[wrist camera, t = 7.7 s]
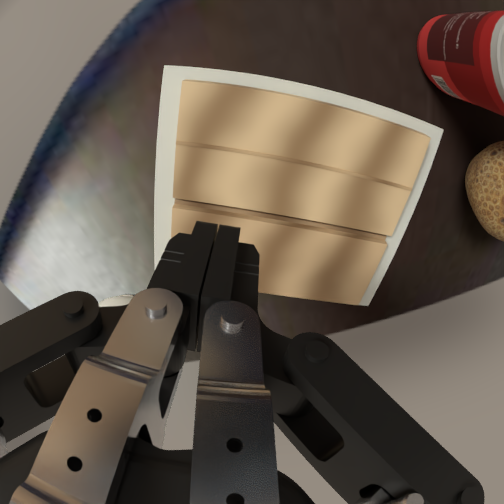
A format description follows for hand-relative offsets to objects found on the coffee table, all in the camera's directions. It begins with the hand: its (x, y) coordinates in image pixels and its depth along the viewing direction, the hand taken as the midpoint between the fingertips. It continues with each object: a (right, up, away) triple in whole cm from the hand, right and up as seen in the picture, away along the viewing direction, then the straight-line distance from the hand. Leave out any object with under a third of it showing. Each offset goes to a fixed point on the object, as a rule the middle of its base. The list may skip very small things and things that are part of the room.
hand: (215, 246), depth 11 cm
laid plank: (+4, 0, +20) cm, 20 cm away
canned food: (+18, +17, +8) cm, 26 cm away
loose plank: (+5, +8, +14) cm, 17 cm away
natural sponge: (+24, +8, +13) cm, 28 cm away
